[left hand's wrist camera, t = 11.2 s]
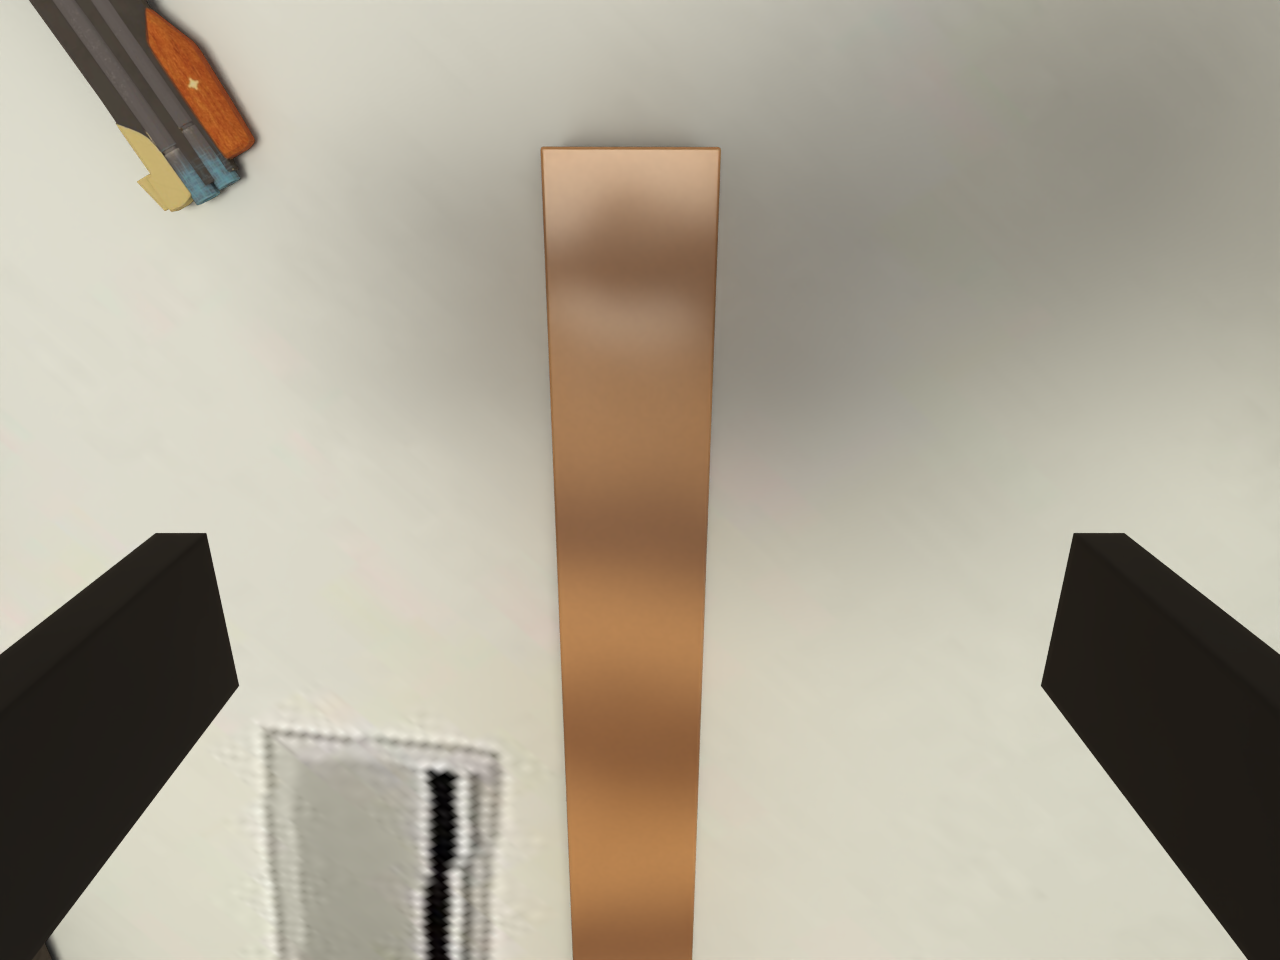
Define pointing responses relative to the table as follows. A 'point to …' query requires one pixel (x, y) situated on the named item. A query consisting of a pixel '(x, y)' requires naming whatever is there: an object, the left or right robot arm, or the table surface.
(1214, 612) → the left robot arm
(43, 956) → the toy
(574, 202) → the post
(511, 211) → the table surface
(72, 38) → the toy gun
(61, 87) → the table surface
